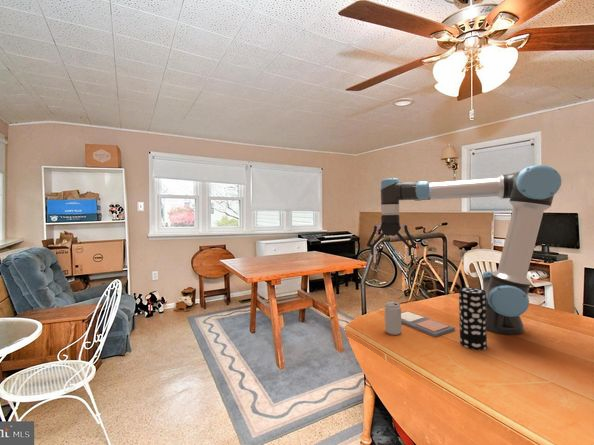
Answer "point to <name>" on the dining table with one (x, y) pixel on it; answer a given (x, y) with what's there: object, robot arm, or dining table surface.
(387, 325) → the beverage can
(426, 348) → the dining table surface
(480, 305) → the spotted tube
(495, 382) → the dining table surface
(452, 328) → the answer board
